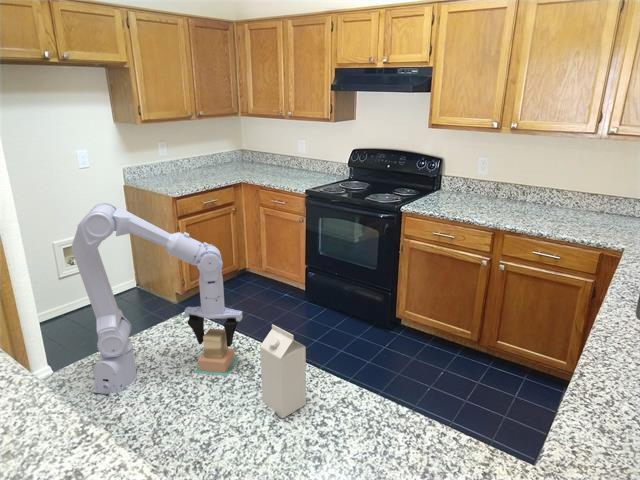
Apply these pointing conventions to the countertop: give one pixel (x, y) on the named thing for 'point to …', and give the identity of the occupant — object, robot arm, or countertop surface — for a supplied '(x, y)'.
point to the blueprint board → (219, 373)
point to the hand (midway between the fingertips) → (215, 343)
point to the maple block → (215, 344)
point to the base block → (216, 362)
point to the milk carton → (283, 372)
